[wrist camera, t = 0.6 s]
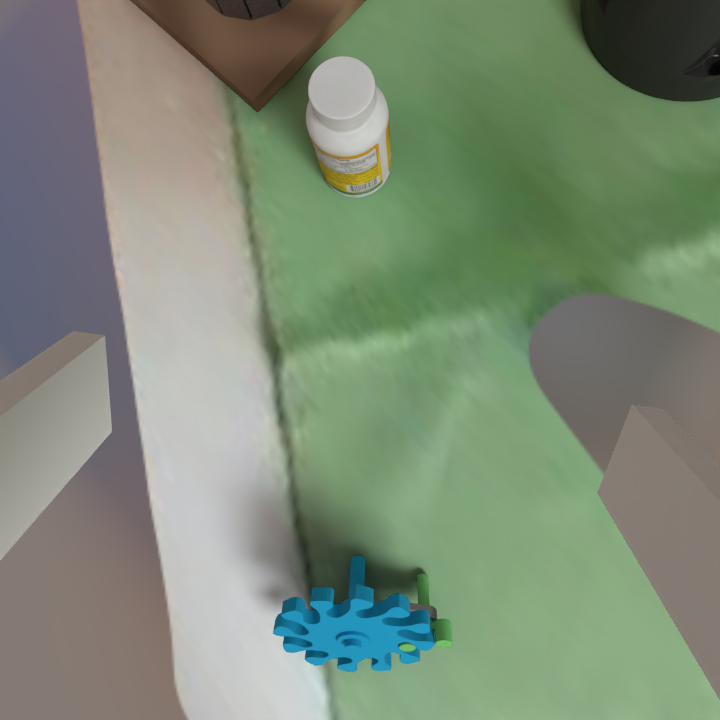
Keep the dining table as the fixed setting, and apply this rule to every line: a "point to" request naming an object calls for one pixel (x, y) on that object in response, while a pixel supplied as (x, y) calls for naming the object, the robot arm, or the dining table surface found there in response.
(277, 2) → the collar
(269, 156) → the dining table surface
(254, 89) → the board
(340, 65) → the supplement bottle
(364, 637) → the gear
